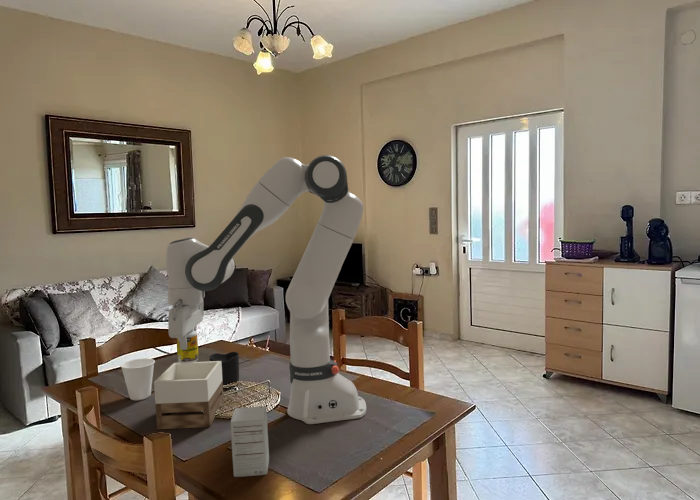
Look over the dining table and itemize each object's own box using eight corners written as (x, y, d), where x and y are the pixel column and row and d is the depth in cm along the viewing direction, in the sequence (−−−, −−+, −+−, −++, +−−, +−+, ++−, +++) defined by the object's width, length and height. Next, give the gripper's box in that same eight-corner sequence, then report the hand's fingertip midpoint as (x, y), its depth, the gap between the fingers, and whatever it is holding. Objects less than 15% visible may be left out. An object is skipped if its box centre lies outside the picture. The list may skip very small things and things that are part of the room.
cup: (119, 405, 148) (117, 369, 147) (126, 393, 158) (124, 360, 157) (154, 401, 150) (152, 366, 149) (159, 389, 160) (157, 356, 159)
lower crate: (223, 403, 147) (222, 380, 146) (209, 426, 131) (208, 401, 130) (176, 405, 146) (175, 382, 146) (157, 429, 130) (155, 403, 130)
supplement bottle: (181, 365, 133) (178, 329, 133) (175, 361, 138) (173, 325, 137) (201, 361, 137) (199, 325, 136) (195, 357, 141) (193, 322, 140)
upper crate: (222, 380, 146) (221, 361, 146) (208, 401, 130) (207, 379, 130) (175, 382, 146) (174, 362, 145) (155, 403, 130) (153, 381, 129)
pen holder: (226, 391, 156) (225, 361, 155) (205, 387, 161) (203, 357, 160) (246, 382, 165) (244, 353, 164) (224, 378, 169) (223, 350, 168)
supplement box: (237, 460, 113) (234, 407, 112) (269, 458, 113) (267, 405, 112) (232, 478, 105) (229, 421, 104) (267, 475, 106) (264, 419, 105)
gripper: (184, 303, 125) (188, 356, 127) (206, 290, 146) (209, 335, 147) (160, 304, 125) (163, 357, 126) (185, 291, 146) (187, 336, 147)
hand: (188, 345), depth 137 cm, fingers closed on supplement bottle, 6 cm apart
